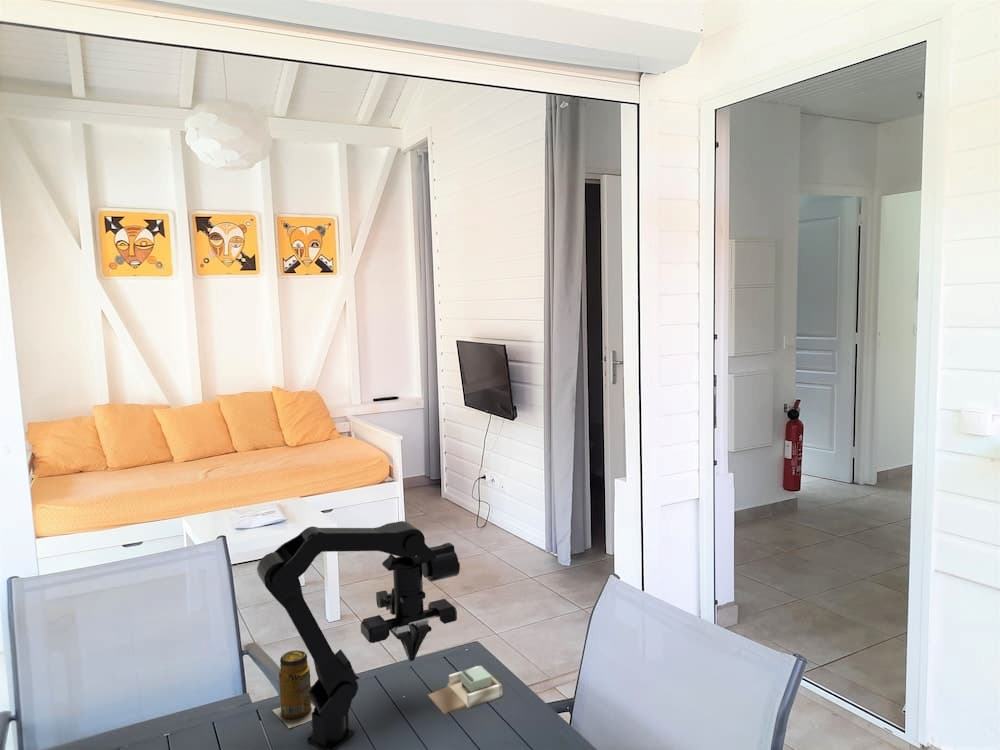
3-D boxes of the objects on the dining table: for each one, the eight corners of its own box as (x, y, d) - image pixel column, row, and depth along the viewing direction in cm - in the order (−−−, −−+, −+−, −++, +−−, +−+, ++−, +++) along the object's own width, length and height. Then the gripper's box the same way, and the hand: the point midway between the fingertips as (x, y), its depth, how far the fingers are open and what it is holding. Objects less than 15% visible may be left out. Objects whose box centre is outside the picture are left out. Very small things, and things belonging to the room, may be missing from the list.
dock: (445, 717, 146) (445, 703, 145) (426, 695, 154) (425, 682, 153) (502, 698, 152) (502, 685, 152) (480, 677, 160) (480, 665, 160)
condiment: (305, 698, 153) (302, 644, 152) (323, 715, 147) (320, 659, 145) (272, 711, 148) (268, 655, 147) (289, 730, 142) (285, 672, 141)
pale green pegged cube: (470, 696, 151) (470, 680, 151) (460, 686, 155) (460, 669, 155) (491, 689, 154) (491, 673, 153) (481, 679, 158) (480, 663, 157)
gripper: (434, 563, 156) (436, 632, 157) (350, 582, 147) (353, 655, 148) (457, 581, 146) (459, 654, 148) (368, 602, 137) (372, 680, 139)
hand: (411, 660), depth 146 cm, fingers closed
